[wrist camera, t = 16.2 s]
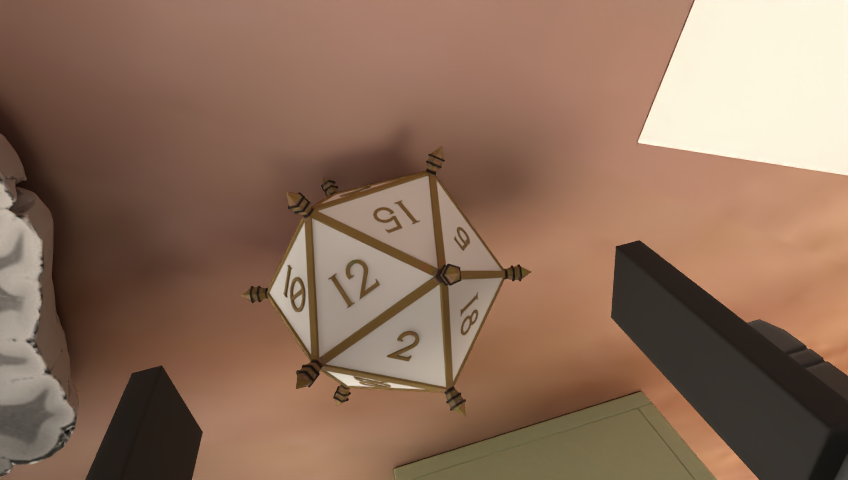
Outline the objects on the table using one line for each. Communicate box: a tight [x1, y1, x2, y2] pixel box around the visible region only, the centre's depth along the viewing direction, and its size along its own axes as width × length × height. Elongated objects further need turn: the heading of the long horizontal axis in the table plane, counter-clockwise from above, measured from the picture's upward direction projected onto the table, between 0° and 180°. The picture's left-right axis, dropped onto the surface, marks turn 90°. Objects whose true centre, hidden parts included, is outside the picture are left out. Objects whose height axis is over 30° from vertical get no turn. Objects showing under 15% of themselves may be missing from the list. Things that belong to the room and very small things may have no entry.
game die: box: [242, 146, 531, 417], centre depth 16 cm, size 9×8×10 cm
